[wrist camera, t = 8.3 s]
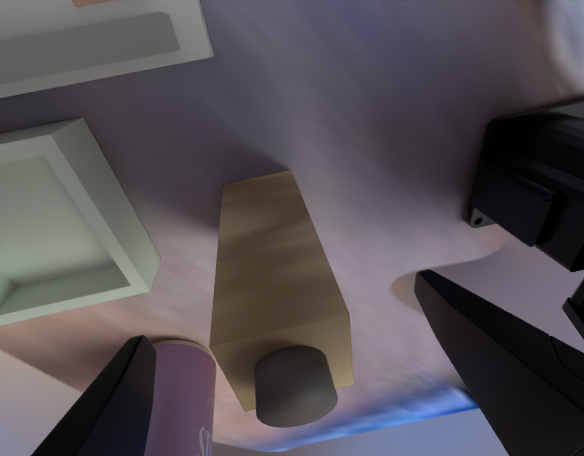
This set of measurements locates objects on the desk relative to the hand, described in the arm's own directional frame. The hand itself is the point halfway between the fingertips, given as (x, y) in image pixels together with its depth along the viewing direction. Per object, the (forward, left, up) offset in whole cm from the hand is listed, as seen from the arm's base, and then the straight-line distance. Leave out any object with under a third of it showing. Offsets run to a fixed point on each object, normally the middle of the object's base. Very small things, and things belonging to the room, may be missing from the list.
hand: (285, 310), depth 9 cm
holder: (+10, -2, -7) cm, 12 cm away
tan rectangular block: (0, 0, -7) cm, 7 cm away
